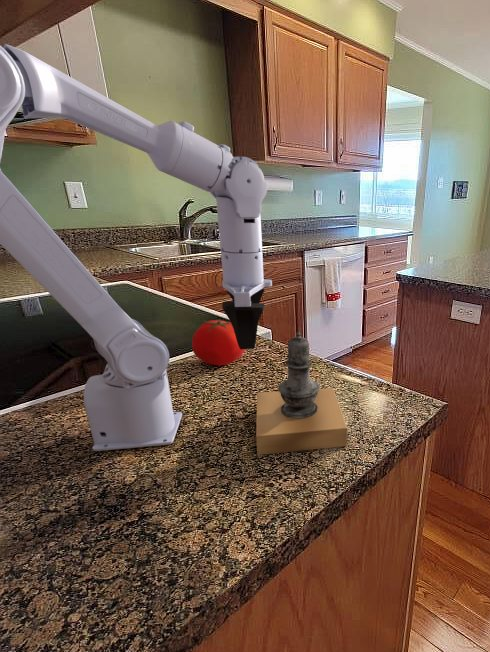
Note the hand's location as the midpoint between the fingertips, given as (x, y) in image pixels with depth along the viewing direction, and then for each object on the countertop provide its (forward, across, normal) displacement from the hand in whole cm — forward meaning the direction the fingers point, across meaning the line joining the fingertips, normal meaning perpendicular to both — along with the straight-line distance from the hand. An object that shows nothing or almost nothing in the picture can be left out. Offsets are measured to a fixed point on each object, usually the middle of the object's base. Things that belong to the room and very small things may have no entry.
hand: (247, 339), depth 62 cm
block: (+10, -10, -7) cm, 16 cm away
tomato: (+11, +16, +6) cm, 20 cm away
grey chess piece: (+8, -10, -7) cm, 14 cm away
